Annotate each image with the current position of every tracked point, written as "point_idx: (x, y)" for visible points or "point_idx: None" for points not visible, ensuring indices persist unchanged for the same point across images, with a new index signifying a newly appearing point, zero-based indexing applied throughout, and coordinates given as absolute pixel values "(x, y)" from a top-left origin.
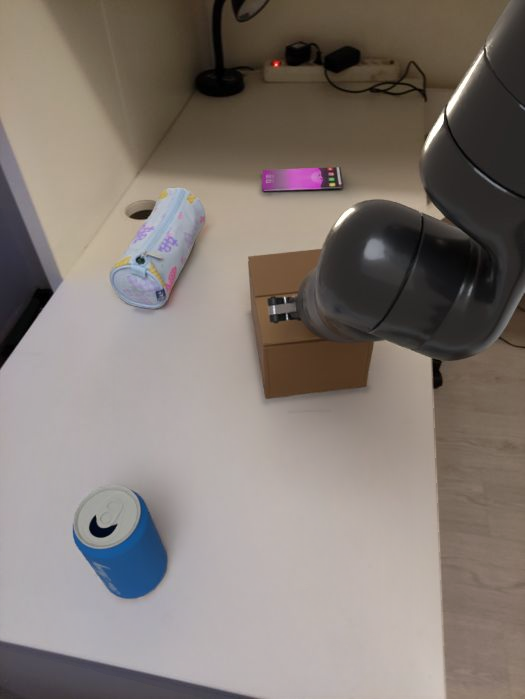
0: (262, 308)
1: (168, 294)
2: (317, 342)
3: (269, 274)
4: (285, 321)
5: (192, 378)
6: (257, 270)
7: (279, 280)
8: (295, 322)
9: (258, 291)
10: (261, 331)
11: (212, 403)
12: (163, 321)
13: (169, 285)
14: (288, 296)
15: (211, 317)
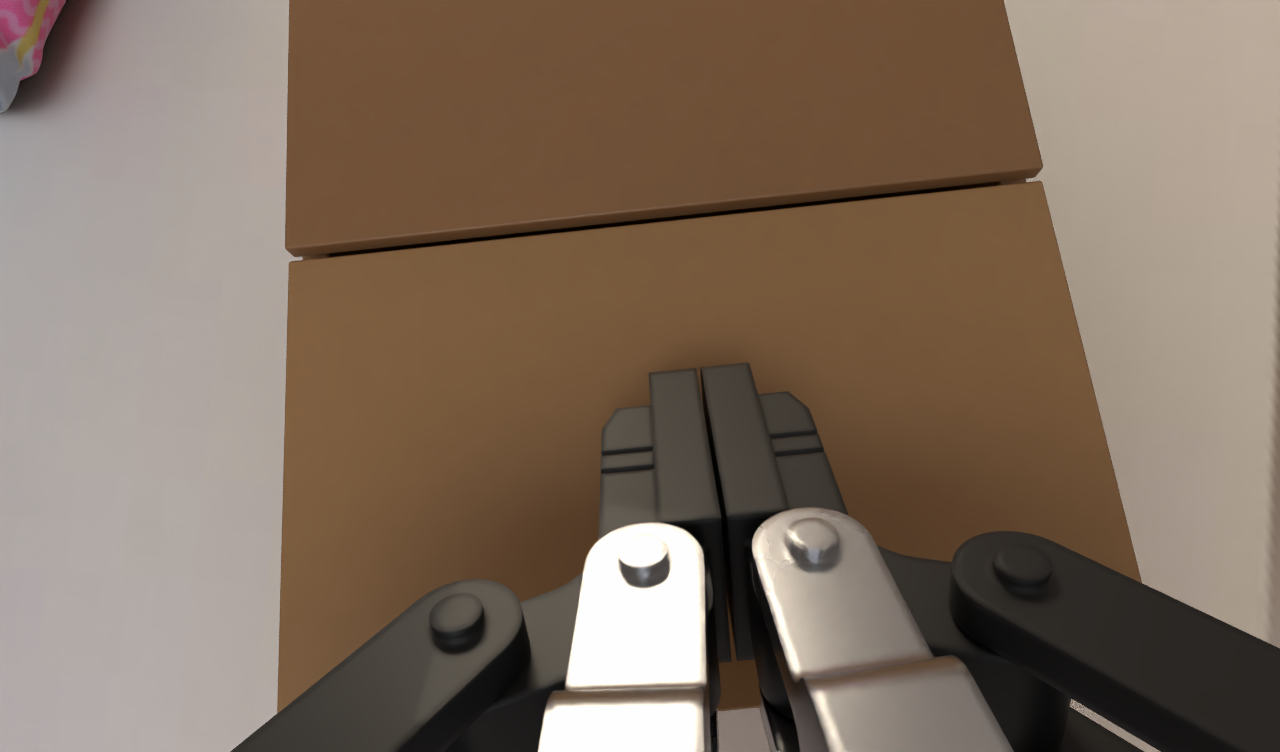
0: (323, 372)
1: (27, 47)
2: None
3: (412, 46)
4: (471, 520)
5: (125, 540)
6: (335, 6)
7: (473, 106)
8: (543, 537)
9: (314, 206)
10: (281, 618)
11: (201, 702)
12: (31, 186)
13: (10, 3)
14: (522, 260)
15: (249, 170)
